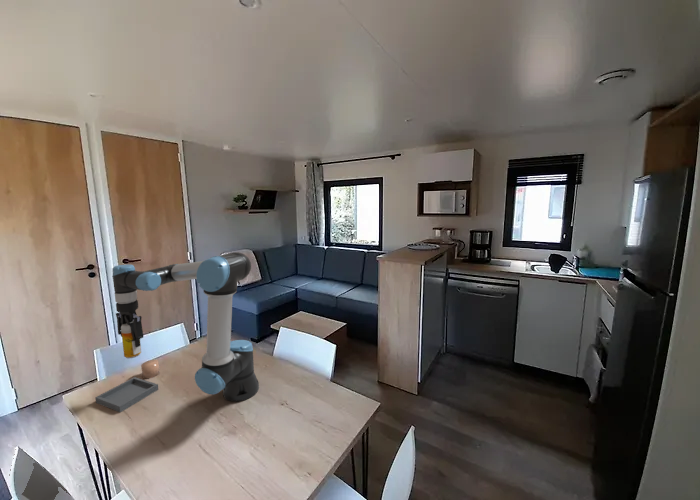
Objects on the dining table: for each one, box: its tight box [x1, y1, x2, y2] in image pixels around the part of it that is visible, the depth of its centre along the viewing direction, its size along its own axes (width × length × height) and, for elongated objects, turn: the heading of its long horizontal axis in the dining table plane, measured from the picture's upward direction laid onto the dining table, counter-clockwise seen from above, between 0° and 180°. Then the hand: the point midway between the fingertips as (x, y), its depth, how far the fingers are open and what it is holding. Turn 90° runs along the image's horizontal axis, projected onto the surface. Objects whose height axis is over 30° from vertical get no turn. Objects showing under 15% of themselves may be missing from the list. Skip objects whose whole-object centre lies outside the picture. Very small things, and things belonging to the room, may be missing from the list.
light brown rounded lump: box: [140, 359, 160, 380], centre depth 145 cm, size 7×7×6 cm
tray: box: [95, 376, 160, 413], centre depth 129 cm, size 16×16×3 cm
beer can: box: [121, 322, 142, 359], centre depth 127 cm, size 6×6×15 cm
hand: (132, 351), depth 128 cm, fingers closed on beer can, 6 cm apart
